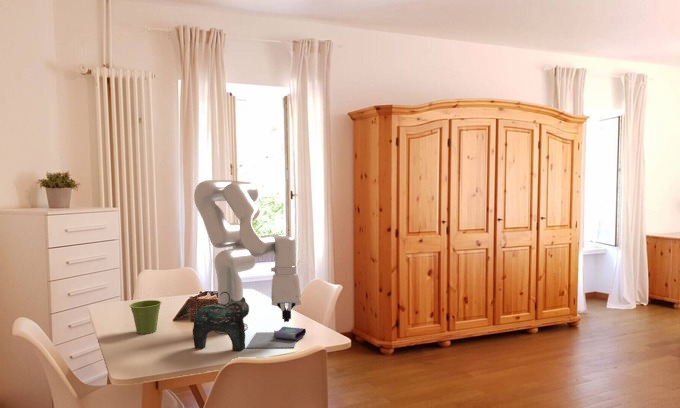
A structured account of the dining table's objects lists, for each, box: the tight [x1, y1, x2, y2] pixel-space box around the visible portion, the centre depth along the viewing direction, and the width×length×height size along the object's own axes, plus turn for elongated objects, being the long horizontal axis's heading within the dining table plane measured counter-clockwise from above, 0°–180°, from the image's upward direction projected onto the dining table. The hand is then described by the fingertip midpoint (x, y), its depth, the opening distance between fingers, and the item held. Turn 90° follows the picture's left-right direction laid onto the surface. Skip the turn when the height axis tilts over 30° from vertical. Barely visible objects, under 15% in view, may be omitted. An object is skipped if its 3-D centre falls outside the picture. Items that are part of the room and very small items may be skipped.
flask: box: [273, 326, 307, 341], centre depth 184 cm, size 9×3×11 cm
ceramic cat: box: [192, 292, 250, 352], centre depth 173 cm, size 20×6×20 cm, turn 77°
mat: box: [245, 331, 298, 350], centre depth 182 cm, size 16×18×1 cm
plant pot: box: [129, 299, 162, 335], centre depth 196 cm, size 12×12×11 cm
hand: (286, 320), depth 182 cm, fingers closed
